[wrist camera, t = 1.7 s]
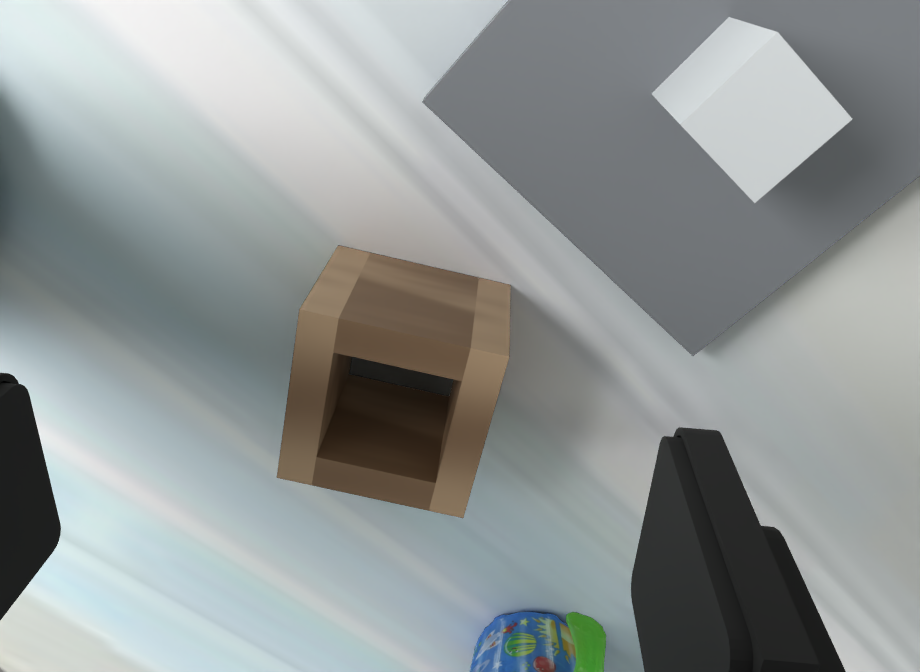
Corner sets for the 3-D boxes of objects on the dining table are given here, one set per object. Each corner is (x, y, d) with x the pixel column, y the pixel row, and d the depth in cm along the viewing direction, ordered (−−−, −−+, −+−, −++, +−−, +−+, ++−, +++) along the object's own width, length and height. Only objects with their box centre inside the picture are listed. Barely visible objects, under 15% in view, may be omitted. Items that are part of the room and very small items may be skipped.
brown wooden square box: (471, 427, 33) (463, 518, 28) (315, 392, 33) (277, 477, 28) (510, 285, 30) (509, 356, 25) (338, 245, 30) (299, 309, 25)
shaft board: (685, 338, 31) (724, 428, 25) (426, 94, 27) (402, 133, 21) (1012, 73, 25) (1158, 109, 20) (746, -275, 22) (829, -357, 16)
